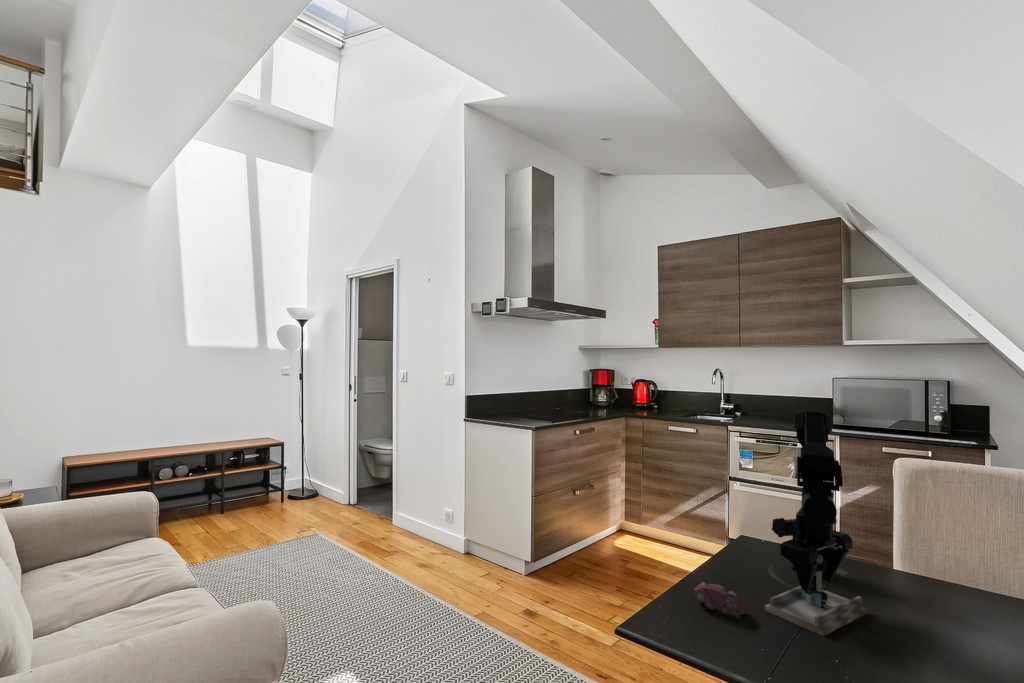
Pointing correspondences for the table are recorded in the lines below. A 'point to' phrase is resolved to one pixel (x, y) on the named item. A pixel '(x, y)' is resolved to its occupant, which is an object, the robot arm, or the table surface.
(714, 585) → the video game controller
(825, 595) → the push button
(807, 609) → the rail board
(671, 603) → the table surface
